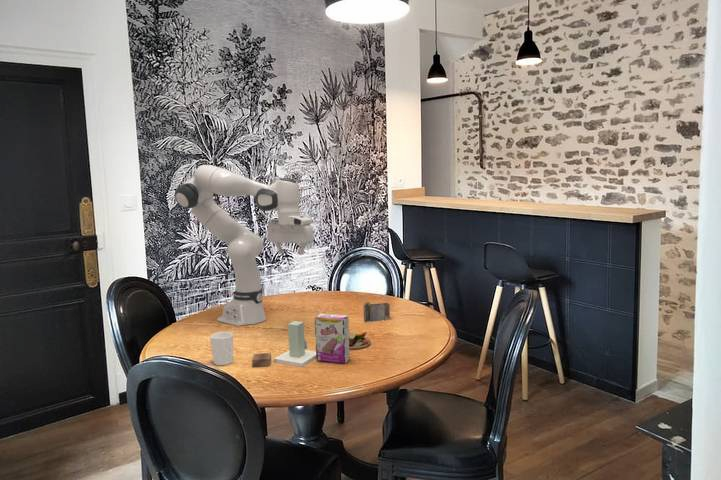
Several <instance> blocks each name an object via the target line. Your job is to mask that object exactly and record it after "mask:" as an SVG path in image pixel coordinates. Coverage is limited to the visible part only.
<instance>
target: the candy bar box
mask: <svg viewBox="0 0 721 480" xmlns="http://www.w3.org/2000/svg"><path fill="white" fill-rule="evenodd" d="M349 319H350V318H349V315H344V314H343V315H342V314H331V313H319V314H317V315H316V316H315V317H314V328H315V329H314V330H315V351H316V362H321V363H330V364H331V363H333V364H341V365H346V364H347V362H348V361H350V359H351V357H350V355H351V354H350V349H349V333H350V329H349V328H350V326H349V325H350V323H349V322H350V320H349Z"/></svg>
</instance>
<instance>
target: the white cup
mask: <svg viewBox="0 0 721 480" xmlns="http://www.w3.org/2000/svg"><path fill="white" fill-rule="evenodd" d="M209 337H210V347H211V348H210V349H211V354H212V358H213V359H212V360H213V364H214V365H215V364H216V366H228V365H230V364H232V363H233V362H234V333H233V332H230V331H220V332H215V333H212V334H210V336H209Z"/></svg>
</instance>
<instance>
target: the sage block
mask: <svg viewBox="0 0 721 480" xmlns="http://www.w3.org/2000/svg"><path fill="white" fill-rule="evenodd" d="M287 329H288V334H287V335H288V350H289V355H290V357H296V358H300V357H301V356H303V355H305V350H306V349H305V341H306V340H305V324H304V321H298V320H297V321H296V320H293V321H291V322H290V323H288V324H287ZM304 340H305V341H304Z"/></svg>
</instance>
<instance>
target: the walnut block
mask: <svg viewBox="0 0 721 480" xmlns="http://www.w3.org/2000/svg"><path fill="white" fill-rule="evenodd" d="M251 363H252V365H251V367H252V368H263V367H267V368H268V366H269V367H271V363H272V353H271V352H265V353H253V356H252V359H251Z"/></svg>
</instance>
